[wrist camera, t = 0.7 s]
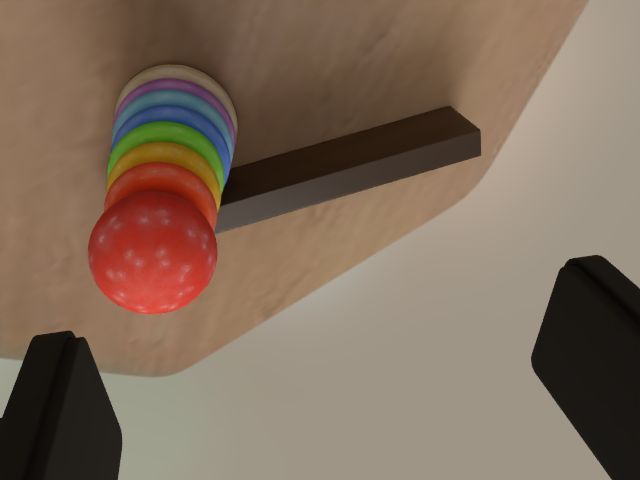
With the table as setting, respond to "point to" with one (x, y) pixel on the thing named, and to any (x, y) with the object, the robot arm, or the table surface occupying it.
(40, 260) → the table surface
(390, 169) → the walnut board
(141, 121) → the stacking toy
